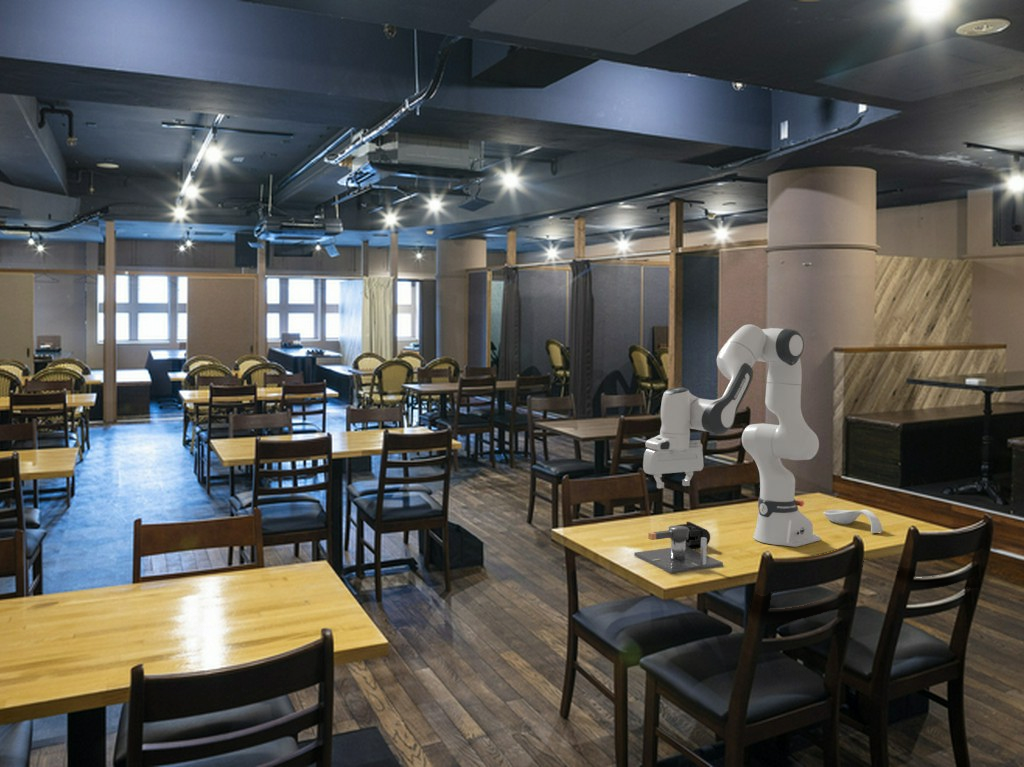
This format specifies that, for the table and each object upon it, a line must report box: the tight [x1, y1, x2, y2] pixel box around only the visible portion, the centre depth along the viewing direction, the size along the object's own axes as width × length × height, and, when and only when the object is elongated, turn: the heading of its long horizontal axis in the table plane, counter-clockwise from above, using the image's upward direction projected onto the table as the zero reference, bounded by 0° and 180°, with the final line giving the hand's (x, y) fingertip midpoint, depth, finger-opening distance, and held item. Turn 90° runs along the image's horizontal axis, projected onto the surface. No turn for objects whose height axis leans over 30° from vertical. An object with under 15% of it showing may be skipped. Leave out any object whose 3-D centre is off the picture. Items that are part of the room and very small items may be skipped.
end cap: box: [677, 521, 711, 550], centre depth 263 cm, size 10×7×7 cm
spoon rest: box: [823, 509, 883, 534], centre depth 290 cm, size 24×12×7 cm, turn 21°
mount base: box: [633, 537, 724, 574], centre depth 245 cm, size 19×19×9 cm
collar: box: [647, 524, 689, 541], centre depth 243 cm, size 14×6×3 cm, turn 115°
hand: (673, 486), depth 243 cm, fingers open, 8 cm apart
